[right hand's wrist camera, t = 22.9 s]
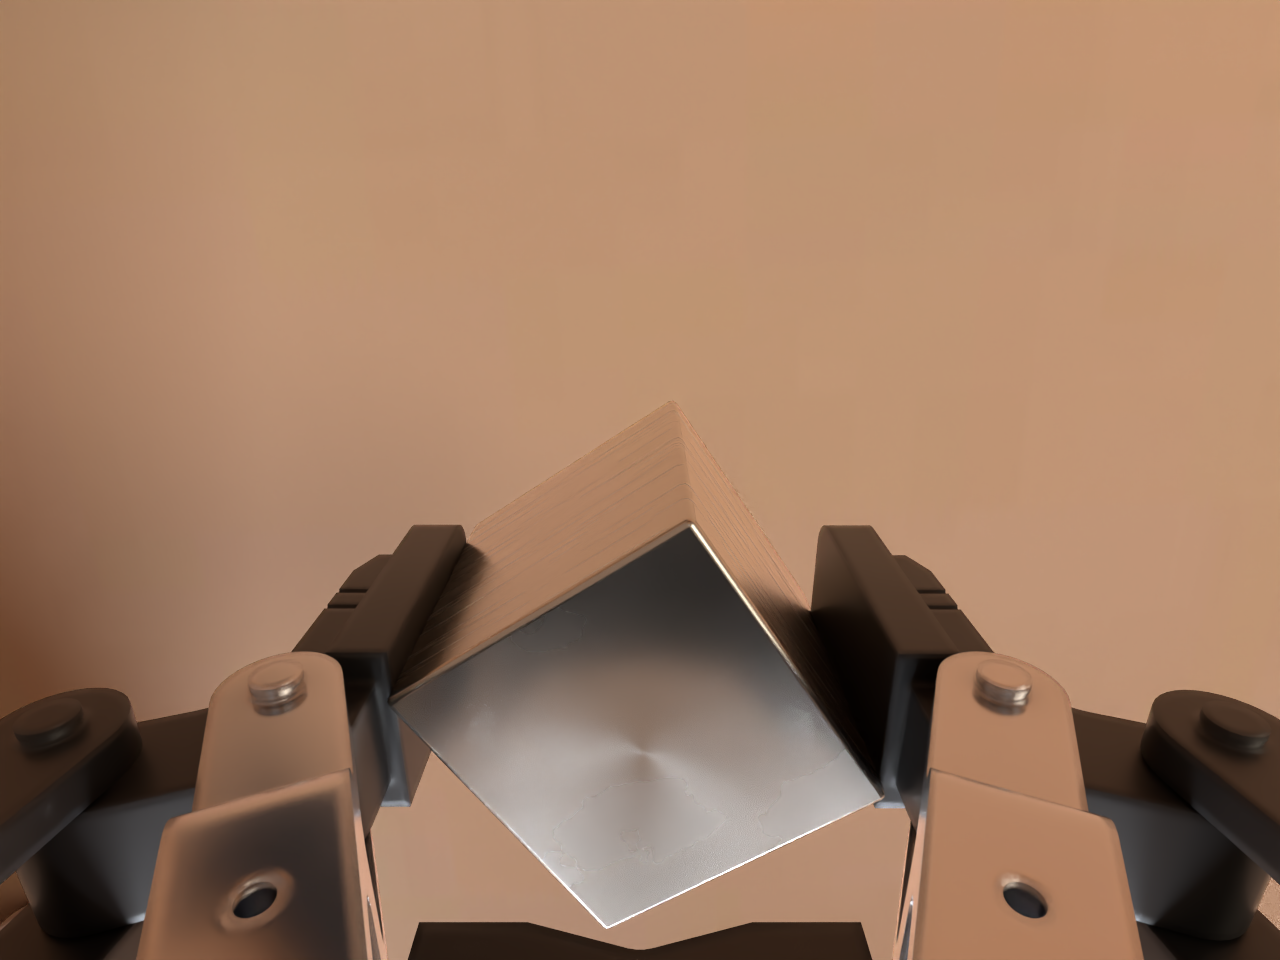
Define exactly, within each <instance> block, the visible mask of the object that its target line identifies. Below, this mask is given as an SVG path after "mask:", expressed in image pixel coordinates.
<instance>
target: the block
mask: <svg viewBox="0 0 1280 960" xmlns="http://www.w3.org/2000/svg"><path fill="white" fill-rule="evenodd" d="M387 703H388V705H389V707H390V708H391V709H392V710H393V711H394V712H395V713H396V714H397V715H398V716H399V717H400V718H401V719H402V720H403V722H404V723H405V724H406V725H407V726H408V727H409V728H410V729H411V730H412V731H413V732H414V733H415V734H416V735H417V736H418V737H419V738H420V739H421V740H422V741H423V742H424V743H425V744H426V745H427V746H428V747H429V748H430V749H431V750H432V751H433V752H434V753H435V754H436V756H437V757H438V758H439V759H440V760H441V761H442V762H443V763H444V764H445V765H446V766H447V767H448V768H449V769H450V770H451V771H452V772H453V773H454V774H455V775H456V776H457V777H458V778H459V779H460V780H461V781H462V782H463V783H464V784H465V785H466V786H467V787H468V789H469V790H470V791H471V792H472V793H473V794H474V795H475V796H476V797H477V798H478V799H479V800H480V801H481V802H482V803H483V804H484V805H485V806H486V807H487V808H488V809H489V810H490V811H491V812H492V813H493V814H494V815H495V816H496V817H497V818H498V819H499V820H500V821H501V823H502V824H503V825H504V826H505V827H506V828H507V829H508V830H509V831H510V832H511V833H512V834H513V835H514V836H515V837H516V838H517V839H518V840H519V841H520V842H521V843H522V844H523V845H524V846H525V847H526V848H527V849H528V850H529V851H530V852H531V853H532V854H533V856H534V857H535V858H536V859H537V860H538V861H539V862H540V863H541V864H542V865H543V866H544V867H545V868H546V869H547V870H548V871H549V872H550V873H551V874H552V875H553V876H554V877H555V878H556V879H557V880H558V881H559V882H560V883H561V884H562V885H563V886H564V887H565V888H566V890H567V891H568V892H569V893H570V894H571V895H572V896H573V897H574V898H575V899H576V900H577V901H578V902H579V903H580V904H581V905H582V906H583V907H584V908H585V909H586V910H587V911H588V912H589V913H590V914H591V915H592V916H593V917H594V918H595V919H596V920H597V921H598V923H599V924H600V925H601V926H602V927H604V928H611V927H614V926H616V925H618V924H620V923H622V922H624V921H626V920H628V919H630V918H633V917H635V916H637V915H639V914H641V913H643V912H645V911H647V910H650V909H652V908H654V907H656V906H658V905H660V904H662V903H664V902H666V901H669V900H671V899H673V898H675V897H677V896H679V895H681V894H683V893H685V892H688V891H690V890H692V889H694V888H696V887H698V886H700V885H702V884H704V883H707V882H709V881H711V880H713V879H715V878H717V877H719V876H721V875H723V874H726V873H728V872H730V871H732V870H734V869H736V868H738V867H740V866H742V865H745V864H747V863H749V862H751V861H753V860H755V859H757V858H759V857H761V856H764V855H766V854H768V853H770V852H772V851H774V850H776V849H778V848H780V847H783V846H785V845H787V844H789V843H791V842H793V841H795V840H797V839H799V838H802V837H804V836H806V835H808V834H810V833H812V832H814V831H816V830H818V829H821V828H823V827H825V826H827V825H829V824H831V823H833V822H835V821H837V820H840V819H842V818H844V817H846V816H848V815H850V814H852V813H854V812H857V811H859V810H861V809H863V808H865V807H867V806H869V805H871V804H873V803H876V802H878V801H880V800H882V799H883V798H884V797H885V792H884V787H883V785H882V782H881V781H880V779H879V777H878V774H877V772H876V769H875V767H874V764H873V762H872V760H871V757H870V755H869V752H868V750H867V747H866V745H865V742H864V740H863V738H862V735H861V733H860V730H859V728H858V725H857V723H856V720H855V718H854V716H853V713H852V711H851V708H850V706H849V703H848V701H847V698H846V696H845V693H844V691H843V689H842V686H841V684H840V681H839V679H838V676H837V674H836V671H835V669H834V667H833V664H832V662H831V659H830V657H829V654H828V652H827V649H826V647H825V645H824V642H823V640H822V637H821V635H820V632H819V630H818V627H817V625H816V623H815V620H814V618H813V615H812V613H811V609H810V606H809V604H808V601H807V599H806V596H805V594H804V593H803V591H802V590H801V588H800V587H799V585H798V584H797V582H796V581H795V579H794V578H793V576H792V575H791V573H790V572H789V570H788V569H787V567H786V566H785V564H784V563H783V561H782V560H781V558H780V557H779V555H778V554H777V552H776V551H775V549H774V548H773V546H772V545H771V543H770V542H769V540H768V539H767V537H766V536H765V534H764V533H763V531H762V530H761V528H760V527H759V525H758V524H757V522H756V521H755V519H754V518H753V516H752V515H751V513H750V512H749V510H748V509H747V507H746V506H745V504H744V503H743V501H742V500H741V499H740V497H739V496H738V494H737V493H736V491H735V490H734V488H733V487H732V485H731V484H730V482H729V481H728V479H727V478H726V476H725V475H724V473H723V472H722V470H721V469H720V467H719V466H718V464H717V463H716V461H715V460H714V458H713V457H712V455H711V454H710V452H709V451H708V449H707V448H706V446H705V445H704V443H703V442H702V440H701V439H700V437H699V436H698V434H697V433H696V431H695V430H694V428H693V427H692V425H691V424H690V422H689V421H688V419H687V418H686V416H685V415H684V413H683V412H682V410H681V409H680V407H679V406H678V404H677V403H676V402H674V401H669V402H667V403H666V404H664V405H663V406H661V407H659V408H658V409H656V410H655V411H653V412H652V413H650V414H649V415H647V416H645V417H644V418H642V419H641V420H639V421H638V422H636V423H635V424H633V425H631V426H630V427H628V428H627V429H625V430H624V431H622V432H621V433H619V434H617V435H616V436H614V437H613V438H611V439H610V440H608V441H606V442H605V443H603V444H602V445H600V446H599V447H597V448H596V449H594V450H592V451H591V452H589V453H588V454H586V455H585V456H583V457H582V458H580V459H578V460H577V461H575V462H574V463H572V464H571V465H569V466H568V467H566V468H564V469H563V470H561V471H560V472H558V473H557V474H555V475H554V476H552V477H550V478H549V479H547V480H546V481H544V482H543V483H541V484H539V485H538V486H536V487H535V488H533V489H532V490H530V491H529V492H527V493H525V494H524V495H522V496H521V497H519V498H518V499H516V500H515V501H513V502H511V503H510V504H508V505H507V506H505V507H504V508H502V509H501V510H499V511H497V512H496V513H494V514H493V515H491V516H490V517H488V518H486V519H485V520H483V521H482V522H480V523H479V524H477V525H476V526H475V528H474V530H473V532H472V534H471V536H470V538H469V540H468V542H467V543H466V546H465V548H464V550H463V552H462V554H461V556H460V558H459V560H458V562H457V563H456V565H455V567H454V569H453V571H452V573H451V575H450V577H449V579H448V581H447V583H446V585H445V587H444V589H443V591H442V593H441V595H440V597H439V599H438V601H437V603H436V605H435V607H434V609H433V611H432V613H431V615H430V617H429V619H428V621H427V623H426V625H425V627H424V629H423V631H422V633H421V635H420V637H419V639H418V641H417V643H416V644H415V646H414V648H413V650H412V652H411V654H410V656H409V658H408V660H407V662H406V664H405V666H404V668H403V670H402V672H401V674H400V676H399V678H398V680H397V682H396V684H395V686H394V688H393V690H392V691H391V693H390V695H389V697H388V699H387Z"/></svg>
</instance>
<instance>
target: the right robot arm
mask: <svg viewBox="0 0 1280 960" xmlns="http://www.w3.org/2000/svg"><path fill="white" fill-rule="evenodd" d="M465 546H466V537H465V532H464V529H463V527H462V526H461V525H413V526H412V527H411V528H410V530H409V531H408V533H407V534H406V536H405V537H404V539H403V540H402V542H401V543H400V544H399V546H398V547H397V549H396V550H395V552H394V553H393V555H378V556H376V557H374V558H373V559H371V560H370V561H368V562H366V563H365V564H363V565H362V566H360V567H359V568H357V569H355V570H354V571H353V572H352V573H351V575H350V576H349V577H348V579H347V580H346V581H345V582H344V584H343V585H342V586H341V588H340V589H339V590H340V591H339V593H336V594H335V596H334V597H333V598H332V599H331V601H330V602H329V603H328V608H327V609H324V610H323V611H322V613H321V614H320V615H319V616H318V618H317V619H316V620H315V622H314V623H313V624H312V626H311V627H310V628H309V630H308V631H307V632H306V633H305V635H304V636H303V637H302V639H301V640H300V641H299V643H298V644H297V645H296V646H295V648H294V649H293V650H292V652H290V653H284V654H278V655H275V656H271V657H267V658H264V659H262V660H259V661H256V662H254V663H252V664H249V665H247V666H245V667H243V668H242V669H240V670H238V671H236V672H235V673H233V674H232V675H230V676H229V677H228V678H227V679H225V680H224V681H223V682H222V683H221V684H220V685H219V686H218V687H217V689H216V690H215V691H214V693H213V695H212V696H211V700H210V703H209V708H206V709H202V710H198V711H193V712H188V713H183V714H178V715H173V716H168V717H163V718H158V719H153V720H148V721H143V722H138V723H137V722H136V719H135V715H134V712H133V709H132V706H131V703H130V700H129V699H128V697H127V696H126V695H125V694H123V693H122V692H119V691H117V690H113V689H108V688H86V689H79V690H73V691H69V692H64V693H60V694H57V695H53V696H50V697H47V698H44V699H42V700H39V701H36V702H34V703H31V704H29V705H27V706H25V707H22V708H20V709H18V710H16V711H15V712H13V713H11V714H9V715H7V716H6V717H4V718H2V719H1V720H0V884H2V883H3V882H4V881H5V880H6V879H7V878H8V877H9V876H11V875H12V874H13V873H14V872H15V871H16V873H17V875H18V878H19V880H20V882H21V885H22V887H23V889H24V892H25V894H26V896H27V899H28V901H29V904H28V905H26V906H24V907H23V908H21V909H19V910H17V911H16V912H14V913H13V914H12V915H10V916H9V917H8V918H7V919H6V920H5V921H4V922H3V923H2V924H1V925H0V960H388V955H387V947H386V939H385V931H384V923H383V915H382V907H381V899H380V891H379V883H378V875H377V867H376V859H375V851H374V844H373V838H372V833H371V827H372V824H373V822H374V820H375V817H376V815H377V813H378V810H379V808H380V807H410V806H411V803H412V801H413V798H414V795H415V793H416V790H417V787H418V785H419V782H420V779H421V777H422V774H423V771H424V769H425V766H426V763H427V761H428V758H429V755H430V753H431V749H430V748H429V747H428V746H427V745H426V744H425V743H424V742H423V741H422V740H421V739H420V738H419V737H418V736H417V735H416V734H415V733H414V732H413V731H412V730H411V729H410V728H409V727H408V726H407V725H406V724H405V723H404V722H403V720H402V719H401V718H400V717H399V716H398V715H397V714H396V713H395V712H394V711H393V710H392V709H391V708H390V707H389V705H388V703H387V699H388V697H389V695H390V693H391V691H392V690H393V688H394V686H395V684H396V682H397V680H398V678H399V676H400V674H401V672H402V670H403V668H404V666H405V664H406V662H407V660H408V658H409V656H410V654H411V652H412V650H413V648H414V646H415V644H416V643H417V641H418V639H419V637H420V635H421V633H422V631H423V629H424V627H425V625H426V623H427V621H428V619H429V617H430V615H431V613H432V611H433V609H434V607H435V605H436V603H437V601H438V599H439V597H440V595H441V593H442V591H443V589H444V587H445V585H446V583H447V581H448V579H449V577H450V575H451V573H452V571H453V569H454V567H455V565H456V563H457V562H458V560H459V558H460V556H461V554H462V552H463V550H464V548H465ZM811 613H812V615H813V618H814V620H815V623H816V625H817V627H818V630H819V632H820V635H821V637H822V640H823V642H824V645H825V647H826V649H827V652H828V654H829V657H830V659H831V662H832V664H833V667H834V669H835V671H836V674H837V676H838V679H839V681H840V684H841V686H842V689H843V691H844V693H845V696H846V698H847V701H848V703H849V706H850V708H851V711H852V713H853V716H854V718H855V720H856V723H857V725H858V728H859V730H860V733H861V735H862V738H863V740H864V742H865V745H866V747H867V750H868V752H869V755H870V757H871V760H872V762H873V764H874V767H875V769H876V772H877V774H878V777H879V779H880V781H881V782H882V785H883V787H884V792H885V797H884V798H883V799H882V800H880V801H878V802H876V803H873V804H874V807H875V808H906V811H907V813H908V815H909V818H910V820H911V822H910V827H909V833H908V838H907V844H906V851H905V859H904V867H903V875H902V883H901V891H900V899H899V907H898V915H897V923H896V931H895V939H894V947H893V955H892V960H1280V930H1278V929H1277V928H1276V927H1275V926H1274V925H1273V924H1272V923H1271V922H1270V921H1269V920H1268V919H1267V918H1266V917H1265V916H1264V915H1263V914H1262V913H1261V912H1260V911H1258V910H1257V908H1258V906H1259V904H1260V901H1261V899H1262V897H1263V894H1264V892H1265V890H1266V887H1267V885H1268V883H1269V881H1270V878H1271V877H1272V878H1273V879H1274V880H1275V881H1276V882H1277V883H1279V884H1280V720H1279V719H1277V718H1276V717H1274V716H1272V715H1270V714H1268V713H1266V712H1265V711H1263V710H1260V709H1258V708H1256V707H1254V706H1251V705H1249V704H1247V703H1244V702H1241V701H1238V700H1236V699H1233V698H1229V697H1226V696H1222V695H1218V694H1214V693H1209V692H1203V691H1195V690H1175V691H1170V692H1166V693H1164V694H1161V695H1159V696H1158V697H1157V698H1156V699H1155V700H1154V702H1153V704H1152V708H1151V711H1150V714H1149V717H1148V720H1147V723H1146V724H1145V723H1140V722H1135V721H1130V720H1125V719H1120V718H1116V717H1111V716H1106V715H1101V714H1096V713H1091V712H1086V711H1082V710H1078V709H1075V708H1071V703H1070V699H1069V696H1068V695H1067V693H1066V691H1065V690H1064V689H1063V687H1062V686H1061V685H1060V684H1059V683H1058V682H1057V681H1056V680H1055V679H1053V678H1052V677H1051V676H1050V675H1048V674H1047V673H1045V672H1044V671H1042V670H1040V669H1038V668H1037V667H1035V666H1033V665H1031V664H1028V663H1026V662H1024V661H1021V660H1018V659H1016V658H1013V657H1009V656H1005V655H1002V654H996V653H994V652H993V651H992V650H991V648H990V647H989V646H988V644H987V643H986V642H985V640H984V639H983V638H982V637H981V635H980V634H979V633H978V631H977V630H976V629H975V628H974V626H973V625H972V624H971V622H970V621H969V620H968V619H967V617H966V616H965V615H964V613H963V612H962V611H961V610H958V609H957V604H956V603H955V602H954V600H953V599H952V598H951V597H950V595H949V594H946V593H945V589H944V588H943V586H942V585H941V584H940V582H939V581H938V580H937V579H936V577H935V576H934V575H933V573H932V572H931V571H930V570H928V569H926V568H925V567H923V566H922V565H920V564H918V563H917V562H915V561H913V560H912V559H910V558H909V557H907V556H905V555H892V554H891V553H890V552H889V550H888V549H887V547H886V546H885V544H884V543H883V542H882V540H881V539H880V537H879V536H878V534H877V533H876V532H875V530H874V529H873V528H872V527H871V526H822V528H821V530H820V533H819V537H818V545H817V555H816V565H815V575H814V585H813V595H812V605H811ZM408 960H872V957H871V954H870V951H869V948H868V944H867V941H866V938H865V934H864V931H863V928H862V925H861V922H752V923H748V924H744V925H740V926H737V927H733V928H729V929H725V930H721V931H717V932H713V933H710V934H706V935H702V936H698V937H694V938H690V939H687V940H683V941H679V942H675V943H671V944H667V945H664V946H660V947H656V948H652V949H646V950H634V949H628V948H624V947H620V946H616V945H613V944H609V943H605V942H601V941H597V940H593V939H590V938H586V937H582V936H578V935H574V934H570V933H567V932H563V931H559V930H555V929H551V928H547V927H543V926H540V925H536V924H532V923H528V922H419V925H418V928H417V931H416V934H415V938H414V941H413V944H412V948H411V951H410V954H409V957H408Z"/></svg>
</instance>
